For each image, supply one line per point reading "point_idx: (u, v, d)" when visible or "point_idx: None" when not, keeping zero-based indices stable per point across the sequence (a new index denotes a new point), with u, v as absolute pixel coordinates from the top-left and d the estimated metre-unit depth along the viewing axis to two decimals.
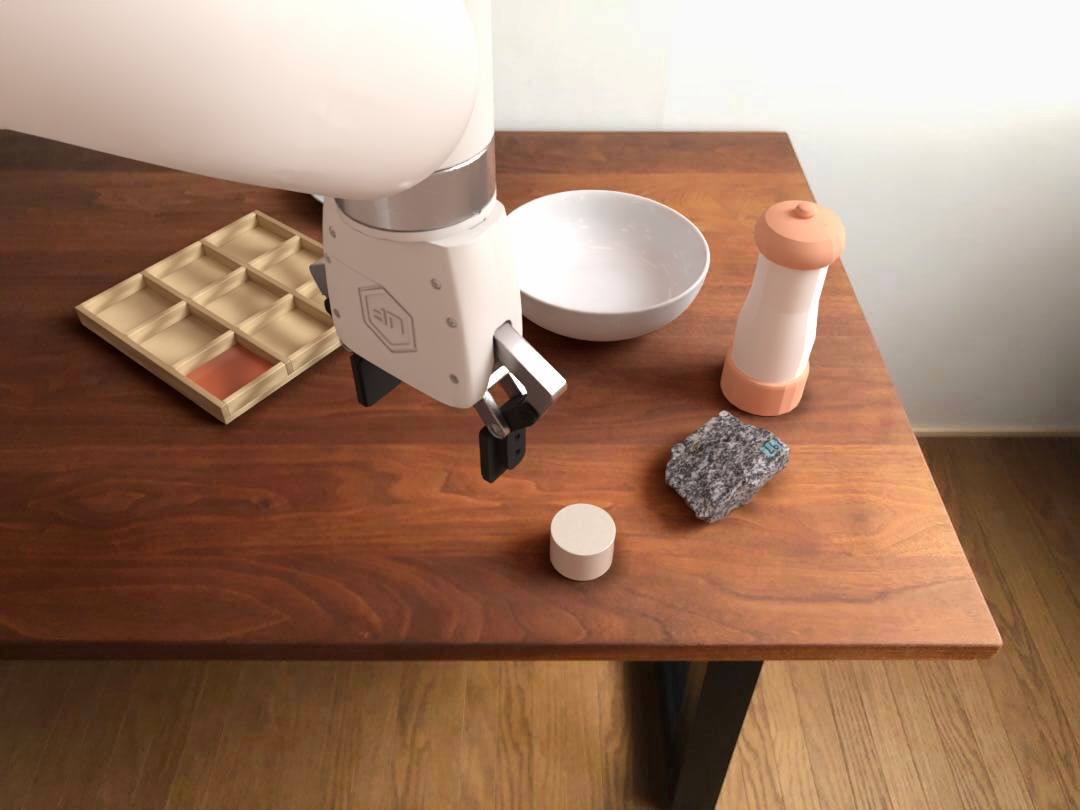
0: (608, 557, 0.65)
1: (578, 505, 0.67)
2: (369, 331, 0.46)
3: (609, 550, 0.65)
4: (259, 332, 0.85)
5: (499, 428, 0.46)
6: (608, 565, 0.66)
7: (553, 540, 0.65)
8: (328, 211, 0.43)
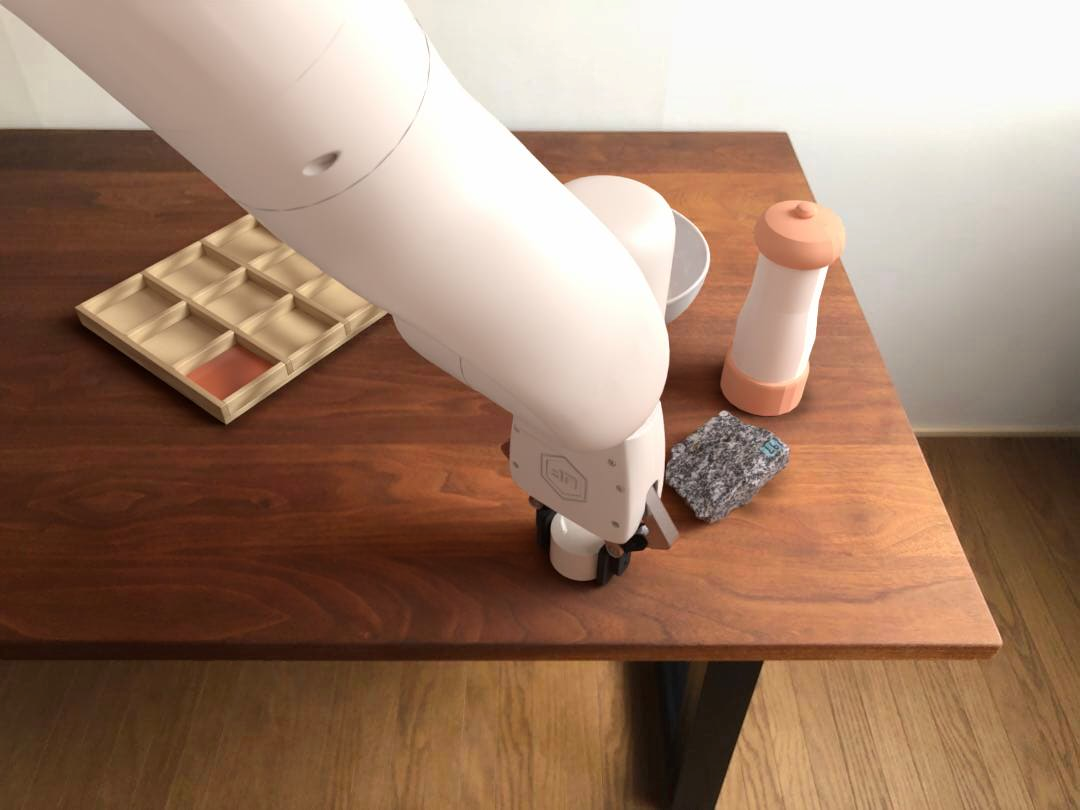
0: None
1: None
2: (544, 482, 0.60)
3: None
4: (259, 332, 0.85)
5: (616, 550, 0.62)
6: None
7: (553, 540, 0.65)
8: None
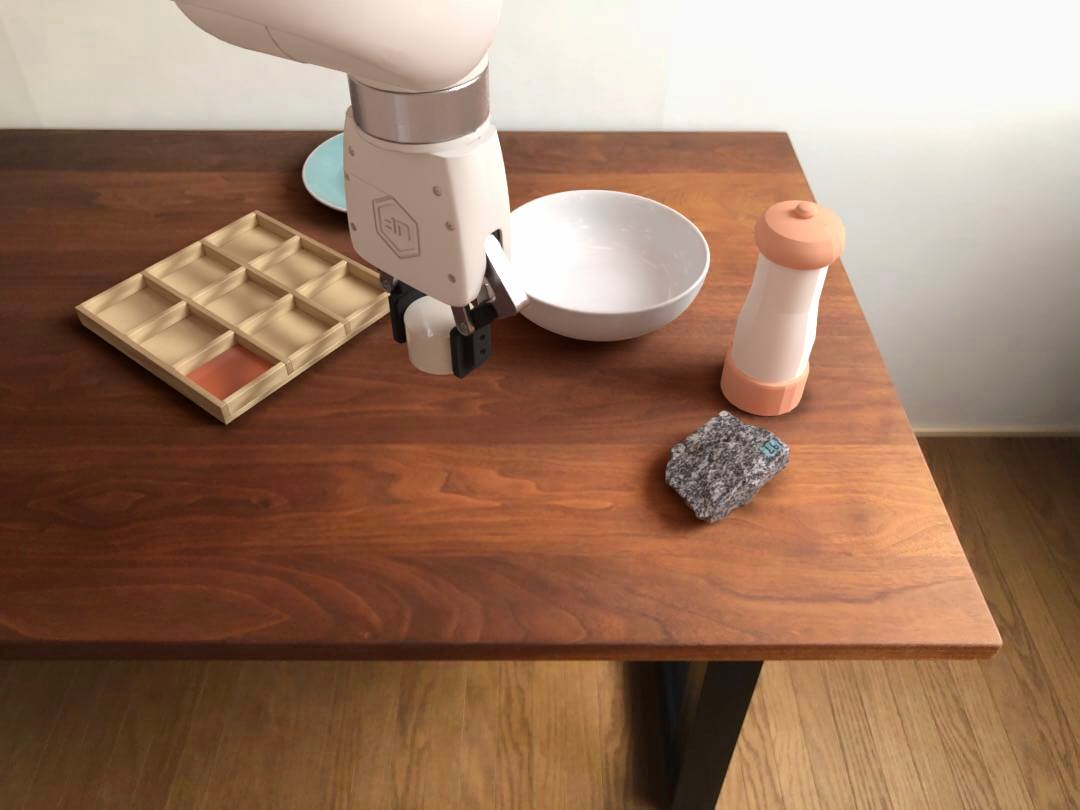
0: None
1: None
2: (381, 240, 0.54)
3: None
4: (259, 332, 0.85)
5: (465, 326, 0.56)
6: None
7: (405, 325, 0.59)
8: (348, 132, 0.50)
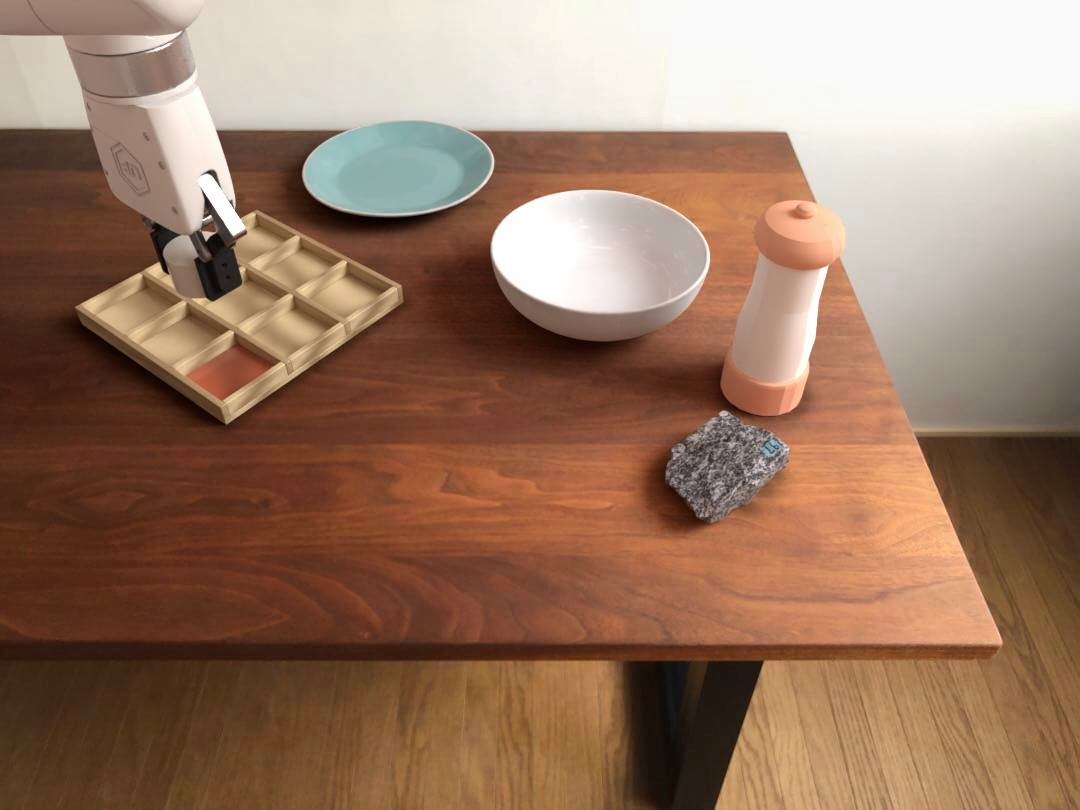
0: None
1: None
2: (124, 182, 0.65)
3: None
4: (259, 332, 0.85)
5: (203, 254, 0.67)
6: None
7: None
8: None
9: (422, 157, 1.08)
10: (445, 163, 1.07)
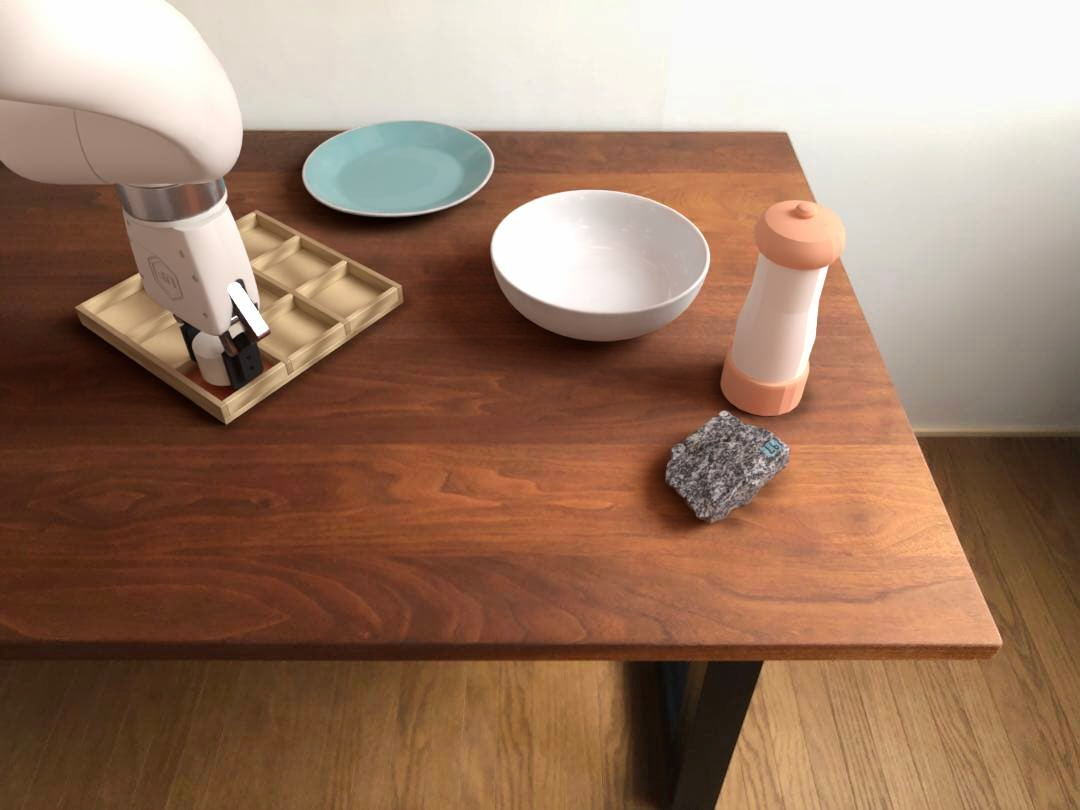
0: None
1: None
2: (159, 287, 0.72)
3: None
4: None
5: (230, 350, 0.74)
6: None
7: (192, 348, 0.77)
8: (124, 209, 0.68)
9: (422, 157, 1.08)
10: (445, 163, 1.07)
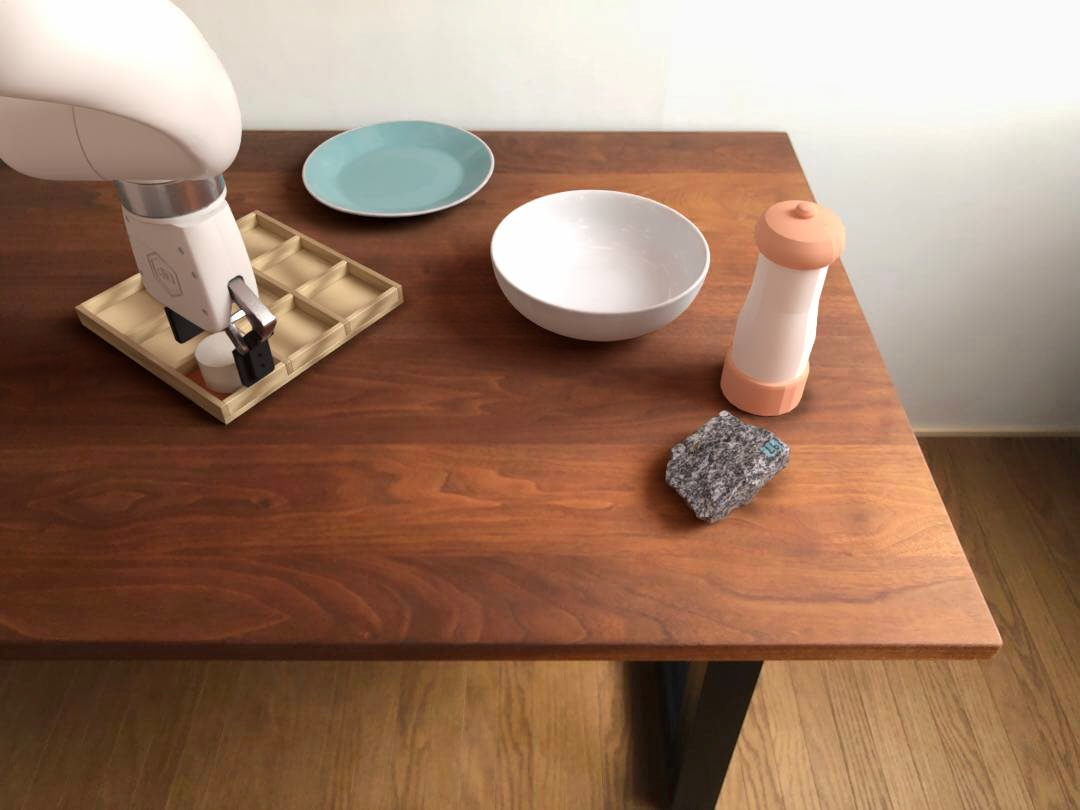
0: None
1: None
2: (158, 283, 0.71)
3: None
4: None
5: (241, 347, 0.72)
6: None
7: (195, 356, 0.77)
8: (123, 206, 0.68)
9: (422, 157, 1.08)
10: (445, 163, 1.07)
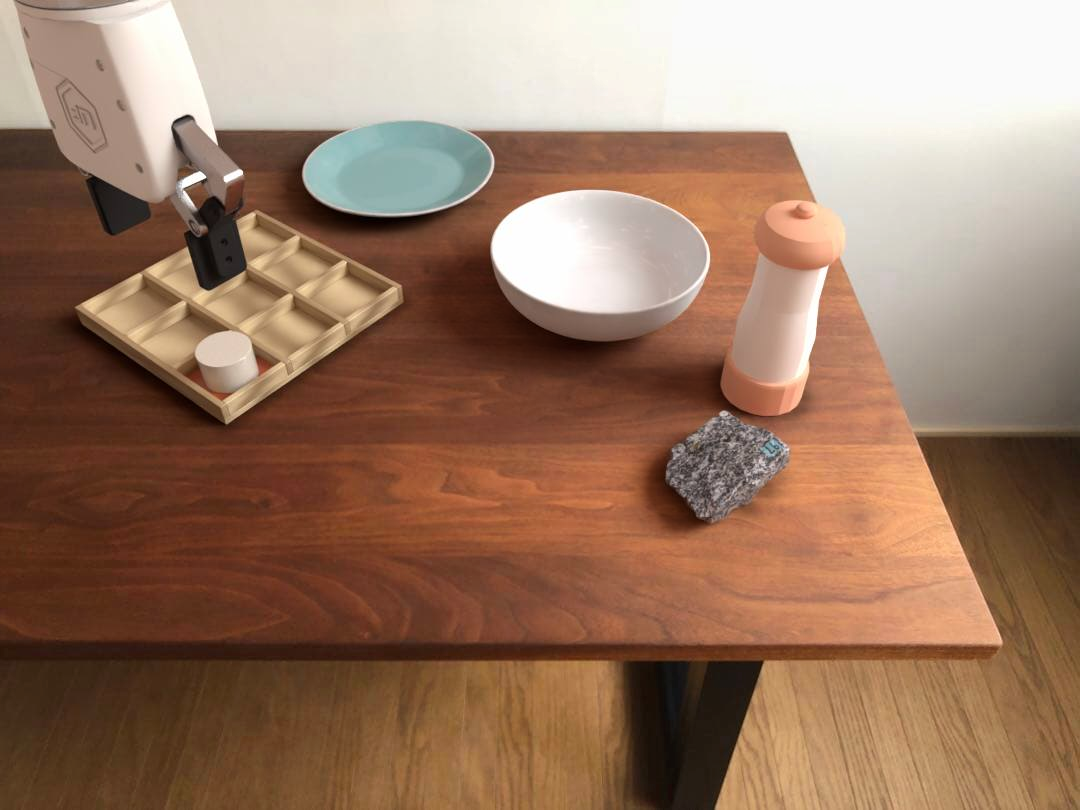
0: (244, 372, 0.78)
1: (226, 332, 0.80)
2: (75, 135, 0.50)
3: (242, 365, 0.78)
4: (259, 332, 0.85)
5: (196, 225, 0.50)
6: (248, 381, 0.79)
7: (195, 356, 0.77)
8: (19, 11, 0.47)
9: (422, 157, 1.08)
10: (445, 163, 1.07)
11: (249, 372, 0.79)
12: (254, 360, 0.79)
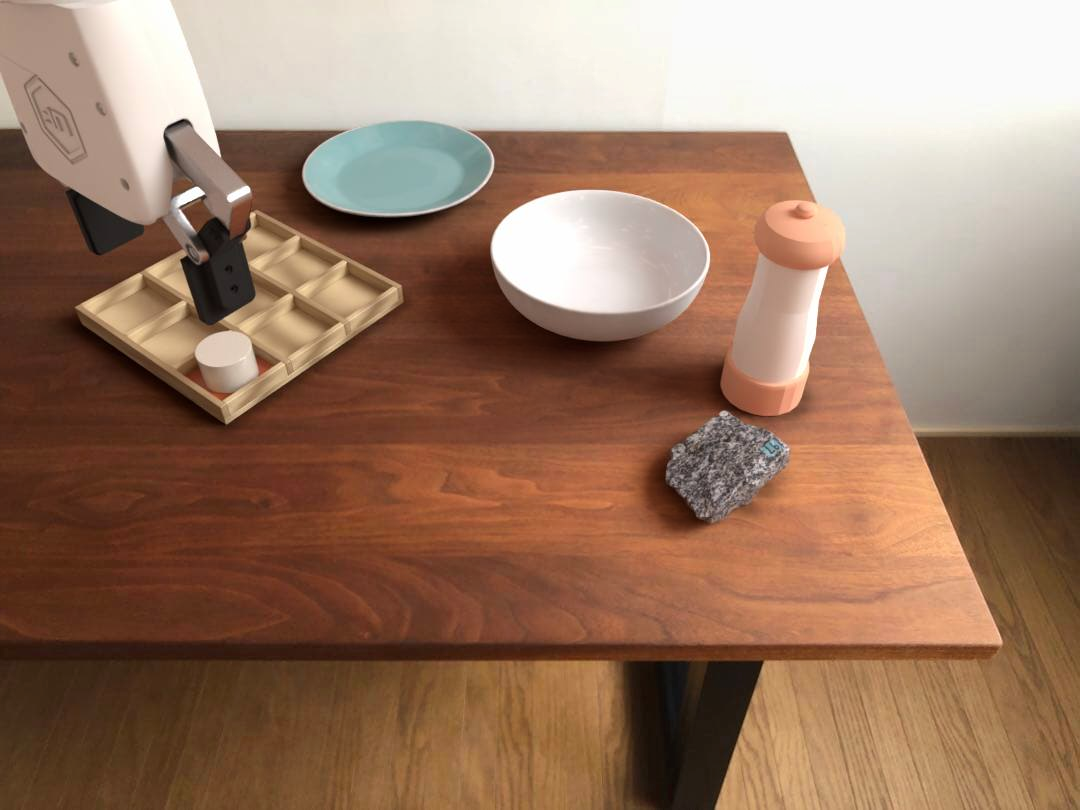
0: (244, 372, 0.78)
1: (226, 332, 0.80)
2: (49, 141, 0.42)
3: (242, 365, 0.78)
4: (259, 332, 0.85)
5: (195, 251, 0.42)
6: (248, 381, 0.79)
7: (195, 356, 0.77)
8: None
9: (422, 157, 1.08)
10: (445, 163, 1.07)
11: (249, 372, 0.79)
12: (254, 360, 0.79)
